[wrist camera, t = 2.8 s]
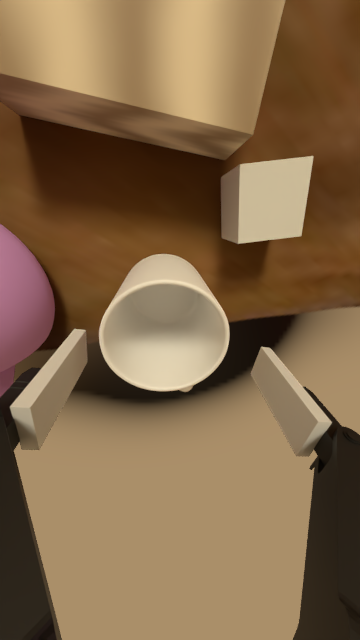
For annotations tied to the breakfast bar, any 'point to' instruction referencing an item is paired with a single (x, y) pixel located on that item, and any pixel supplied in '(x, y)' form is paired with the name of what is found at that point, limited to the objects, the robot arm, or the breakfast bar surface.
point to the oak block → (141, 67)
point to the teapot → (21, 305)
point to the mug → (164, 326)
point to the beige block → (265, 200)
